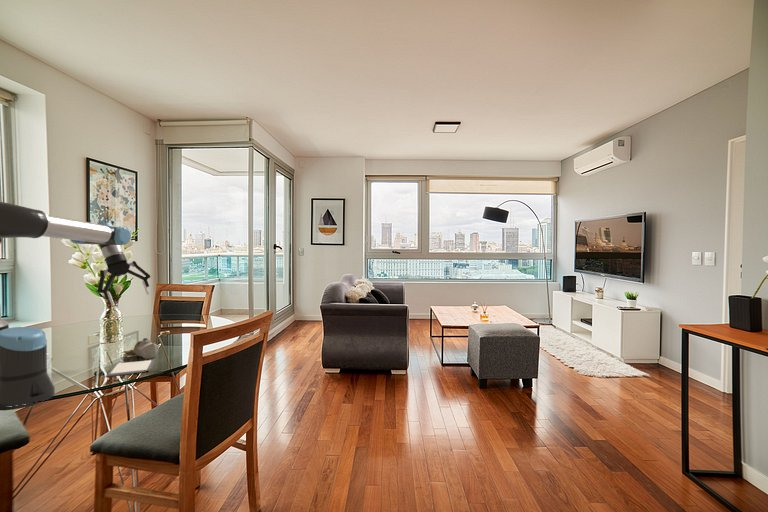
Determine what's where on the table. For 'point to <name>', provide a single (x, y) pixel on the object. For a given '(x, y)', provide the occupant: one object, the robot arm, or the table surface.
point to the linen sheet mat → (130, 368)
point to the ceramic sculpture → (144, 349)
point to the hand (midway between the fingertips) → (131, 299)
